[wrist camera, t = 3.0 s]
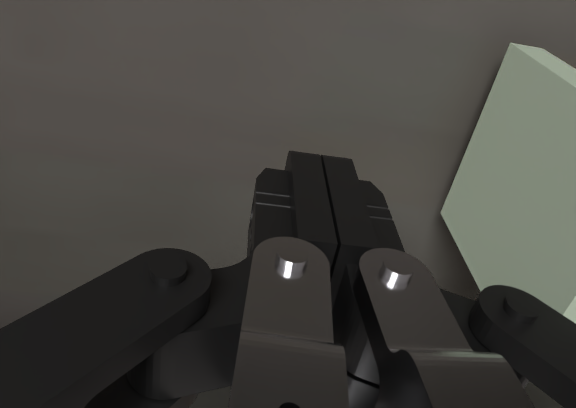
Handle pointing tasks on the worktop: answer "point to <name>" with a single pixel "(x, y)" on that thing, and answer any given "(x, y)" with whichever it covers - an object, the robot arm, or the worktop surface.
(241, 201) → the worktop surface
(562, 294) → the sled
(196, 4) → the worktop surface
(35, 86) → the worktop surface
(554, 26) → the worktop surface
